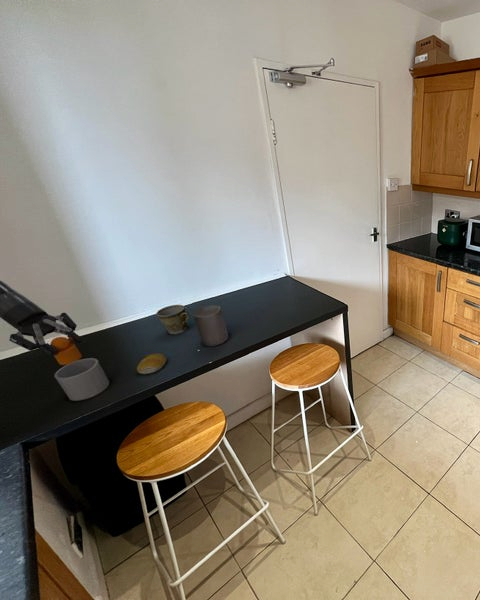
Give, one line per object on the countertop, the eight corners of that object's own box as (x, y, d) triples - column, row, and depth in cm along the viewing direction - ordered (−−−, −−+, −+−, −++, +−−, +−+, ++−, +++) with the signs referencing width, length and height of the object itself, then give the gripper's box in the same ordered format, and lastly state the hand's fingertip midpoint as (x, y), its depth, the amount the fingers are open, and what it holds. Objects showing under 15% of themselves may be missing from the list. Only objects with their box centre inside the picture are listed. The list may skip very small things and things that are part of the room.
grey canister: (197, 342, 128) (186, 310, 121) (220, 330, 136) (210, 300, 129) (211, 349, 124) (200, 316, 117) (234, 337, 131) (224, 305, 124)
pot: (85, 402, 99) (71, 381, 95) (60, 398, 101) (45, 376, 96) (117, 381, 108) (105, 360, 103) (93, 377, 109) (81, 356, 105)
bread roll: (170, 357, 119) (166, 348, 117) (161, 372, 112) (157, 363, 110) (144, 361, 117) (140, 352, 115) (134, 376, 110) (129, 367, 108)
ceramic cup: (158, 335, 133) (150, 315, 128) (176, 323, 141) (169, 303, 137) (186, 337, 131) (178, 317, 126) (203, 325, 140) (196, 305, 135)
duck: (67, 366, 95) (53, 344, 91) (54, 363, 96) (39, 341, 92) (87, 354, 100) (75, 333, 96) (75, 352, 101) (61, 331, 97)
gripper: (-15, 315, 85) (42, 356, 88) (48, 292, 97) (96, 329, 100) (-17, 329, 88) (38, 368, 91) (44, 305, 101) (90, 340, 104)
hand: (68, 347), depth 96 cm, fingers closed on duck, 5 cm apart
